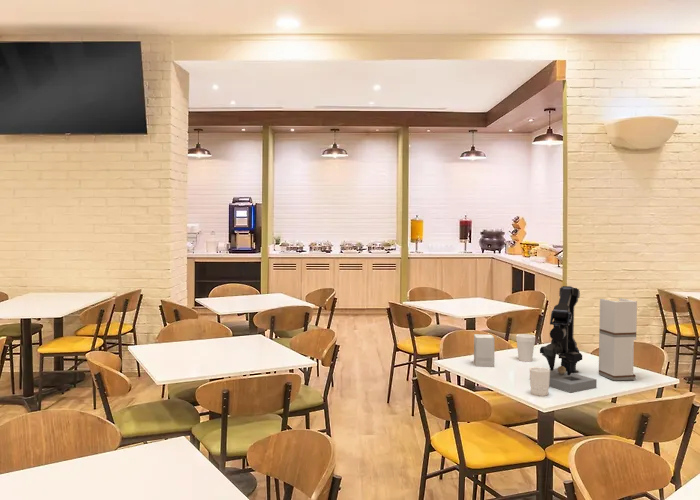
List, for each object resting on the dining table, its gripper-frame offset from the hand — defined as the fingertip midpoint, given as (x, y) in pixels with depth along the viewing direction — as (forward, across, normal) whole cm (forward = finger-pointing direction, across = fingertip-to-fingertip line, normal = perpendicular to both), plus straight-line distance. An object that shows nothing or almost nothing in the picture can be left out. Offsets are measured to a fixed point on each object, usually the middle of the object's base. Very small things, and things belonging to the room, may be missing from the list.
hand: (560, 372), depth 249 cm
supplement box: (+5, -40, -8) cm, 41 cm away
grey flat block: (+4, +1, 0) cm, 5 cm away
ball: (-1, -1, +2) cm, 3 cm away
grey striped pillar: (+5, +4, +32) cm, 32 cm away
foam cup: (+5, -38, +18) cm, 42 cm away
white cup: (+5, +7, -20) cm, 22 cm away
